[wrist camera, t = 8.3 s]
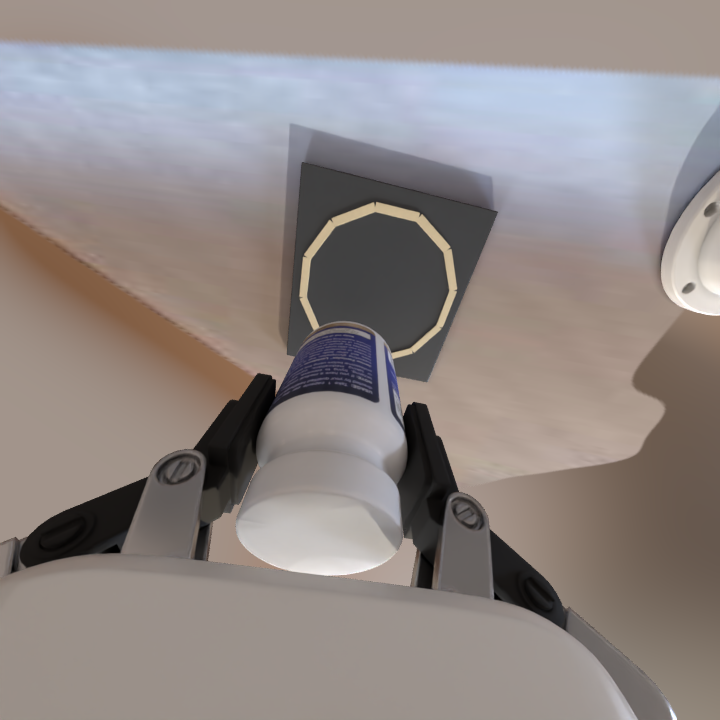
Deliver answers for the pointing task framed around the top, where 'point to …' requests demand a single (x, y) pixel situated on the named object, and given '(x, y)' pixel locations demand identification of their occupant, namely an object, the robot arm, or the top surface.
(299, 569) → the pill bottle
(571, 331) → the top surface
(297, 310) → the board
